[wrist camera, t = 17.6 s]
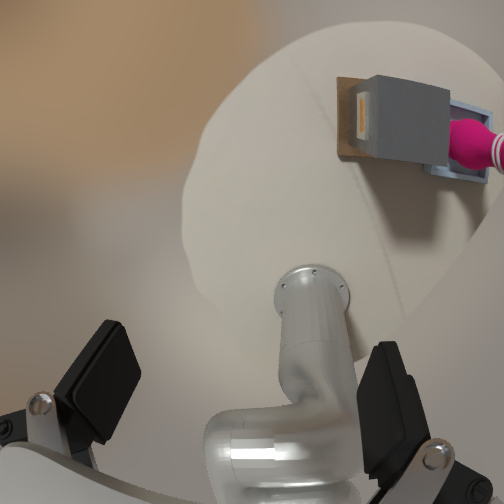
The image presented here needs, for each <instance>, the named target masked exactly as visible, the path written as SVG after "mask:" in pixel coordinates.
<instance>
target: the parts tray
mask: <svg viewBox="0 0 504 504" xmlns="http://www.w3.org/2000/svg"><path fill="white" fill-rule="evenodd" d="M468 118H469V119H474V120H477V121H479V122H481V123H482V124H484V125H485V126H486V127H487V128H488V129H489V130H490V131H491V132H492V122H493V113H492V112H490V111H487V110H484V109H481V108H478V107H475V106H472V105H469V104H465V103H462V102H459V101H455V100H452V99H450V121H452V120H458V121H460V120H462V119H468ZM423 171H424V172H426V173H428V174H430V175H436V176H443V177H450V178H456V179H462V180H468V181H474V182H479V183H484V184H487V183H488V176H489V167H487V168H484V169H481V170H471V169H468V168H465V167H463V166H462V165H460V164H459V163H458V162H457V161H456V160H453V159H451V158H450V157H448V165H447V167H443V166H436V165H430V164H424V169H423Z"/></svg>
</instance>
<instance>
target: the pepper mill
mask: <svg viewBox="0 0 504 504" xmlns="http://www.w3.org/2000/svg"><path fill="white" fill-rule="evenodd" d="M448 157H450V158H451V159H453V160H456V161H457V162H458V163H459V164H460V165H462V166H463V167H465V168H468V169H471V170H481V169H484V168H487V167H495V168H496V169H497V171H498V172H499V173H501V174H503V175H504V133H500V134H499V135H496V134H494V133H492V132H491V131H490V130H489V129H488V128H487V127H486V126H485V125H484V124H482V123H481V122H479V121H477V120H474V119H469V118H468V119H462V120H460V121H458V120H452V121H450V138H449V153H448Z"/></svg>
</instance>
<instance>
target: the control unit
mask: <svg viewBox="0 0 504 504" xmlns="http://www.w3.org/2000/svg"><path fill="white" fill-rule="evenodd" d="M449 138H450V90H447V89H443V88H440V87H436V86H432V85H428V84H423V83H419V82H414V81H410V80H405V79H399V78H394V77H388V76H382V75H376V76H373V77H371V78H369V79H367V80H365V79H357V78H347V77H337V154H338V155H347V156H361V157H373V158H381V159H391V160H400V161H408V162H416V163H423V164H430V165H436V166H443V167H447V165H448V153H449Z"/></svg>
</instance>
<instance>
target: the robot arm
mask: <svg viewBox="0 0 504 504" xmlns="http://www.w3.org/2000/svg"><path fill="white" fill-rule="evenodd" d="M341 285H342V286H341ZM348 302H349V292H348V287H347V284H346V282H345V281H344V279H343V278H342V277H341V276H340V274H338V273H337V272H336V271H334V270H332V269H330V268H328V267H324V266H320V265H307V266H302V267H299V268H296V269H294V270H292V271H290V272H289V273H287V274H286V275H285V276H284V277H283V278H282V279H281V280H280V281H279V283H278V285H277V287H276V290H275V294H274V304H275V308H276V310H277V313H278V314H279V315H280V317H281V318H282V328H281V342H280V356H279V370H278V378H279V383H280V385H281V388H282V390H283V392H284V393H285V395H286V396H287V398H288V399H289V400H290V401H291V402H292V403H293V404H289V405H282V406H277V407H266V408H251V409H235V410H227V411H223V412H220V413H218V414H216V415H214V416H213V417H212V418H211V419H210V421H209V422H208V423H207V425H206V428H205V431H204V436H203V453H204V460H205V464H206V468H207V472H208V475H209V478H210V482H211V485H212V488H213V492H214V494H215V498H216V501H217V504H361V499H360V493H359V491H358V489H357V487H356V486H355V485H354V484H353V483H352V482H350V481H349V480H348V479H350V478H352V477H355V476H356V475H358V474H360V473H361V472H362V471H363V470H364V472H365V473H366V474H369V480H370V479H378V487H379V489H378V490H377V491H376V492H375V494H374V495H373V496H372V498H371V499H370V500H369V501H368V502H367V504H503V503H502V501H501V500H500V499H499V498H498V497H497V496H496V497H493V496H492V493H493V487H492V483H491V482H490V480H489V479H487V478H486V477H485V476H483V475H481V474H479V473H477V472H475V471H473V470H472V469H470V468H468V467H466V466H464V465H463V464H461V463H459V462H458V461H456V460H455V452H454V449H453V447H452V446H451V444H450V443H449V442H447V441H446V440H443V439H440V438H434V439H431V436H430V433H429V429H428V425H427V421H426V418H425V414H424V410H423V407H422V403H421V400H420V396H419V393H418V390H417V387H416V384H415V380H414V378H413V377H412V376H411V375H407V373H406V370H405V367H404V364H403V361H402V358H401V355H400V352H399V349H398V346H397V343H396V342H395V341H384V342H379V344H378V346H374V347H373V350H372V353H371V356H370V358H369V361H368V364H367V366H366V369H365V372H364V374H363V377H362V379H361V382H360V384H359V387H358V384H357V379H356V374H355V369H354V363H353V358H352V352H351V347H350V342H349V336H348V331H347V326H346V321H345V317H344V311H345V310H346V308H347V305H348ZM140 377H141V369H140V367H139V364H138V362H137V359H136V357H135V354H134V352H133V349H132V346H131V344H130V341H129V339H128V336H127V333H126V330H125V328H124V326H122V324H121V323H120V322H118V321H113V320H108V319H107V320H105V321H104V322H103V323H102V325H101V326H100V327H99V328H98V330H97V331H96V332H95V334H94V335H93V336H92V338H91V339H90V341H89V342H88V343H87V345H86V346H85V347H84V349H83V350H82V351H81V353H80V354H79V355H78V357H77V358H76V360H75V361H74V363H73V364H72V365H71V367H70V368H69V369H68V371H67V372H66V374H65V375H64V377H63V378H62V380H61V381H60V383H59V384H58V385H57V387H56V388H55V390H54V393H55V394H54V395H53V396H52V395H51V394H50V393H48V392H45V391H42V392H37V393H35V394H34V395H33V396H31V397H30V398H29V400H28V402H27V404H26V409H23V410H20V411H17V412H13V413H10V414H6V415H3V416H0V504H201V503H197V502H192V501H188V500H183V499H179V498H175V497H171V496H168V495H164V494H161V493H157V492H154V491H151V490H147V489H144V488H141V487H138V486H135V485H132V484H130V483H127V482H124V481H121V480H119V479H116V478H114V477H111V476H109V475H106V474H104V473H102V472H99V470H98V467H97V464H96V461H95V458H94V455H93V451H92V448H91V444H92V442H93V441H95V442H97V443H100V444H102V445H105V443H106V441H107V440H109V439H111V437H112V435H113V433H114V430H115V428H116V426H117V424H118V422H119V420H120V418H121V416H122V414H123V412H124V410H125V408H126V406H127V404H128V402H129V400H130V398H131V396H132V393H133V391H134V390H135V388H136V386H137V384H138V382H139V380H140Z"/></svg>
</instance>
